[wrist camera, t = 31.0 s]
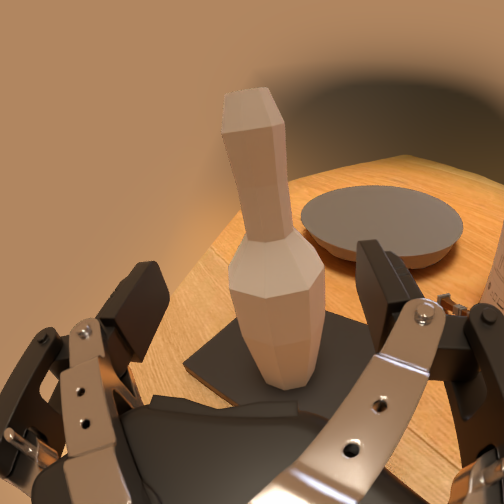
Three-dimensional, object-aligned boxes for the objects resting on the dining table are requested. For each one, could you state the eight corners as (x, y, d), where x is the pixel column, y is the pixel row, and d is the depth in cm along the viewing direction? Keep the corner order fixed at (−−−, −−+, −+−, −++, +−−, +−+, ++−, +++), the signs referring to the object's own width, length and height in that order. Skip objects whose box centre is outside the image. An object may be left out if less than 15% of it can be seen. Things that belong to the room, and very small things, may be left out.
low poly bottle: (262, 342, 27) (212, 101, 16) (325, 344, 25) (309, 86, 14) (246, 394, 21) (161, 106, 11) (320, 400, 20) (302, 77, 9)
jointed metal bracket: (467, 357, 19) (474, 314, 18) (434, 329, 27) (437, 293, 26) (479, 352, 18) (486, 310, 18) (446, 326, 26) (449, 291, 26)
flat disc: (269, 240, 48) (266, 216, 46) (364, 196, 60) (364, 178, 57) (413, 316, 27) (420, 285, 24) (474, 232, 38) (478, 210, 36)
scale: (186, 371, 26) (176, 353, 25) (271, 296, 35) (267, 277, 34) (319, 456, 16) (320, 445, 15) (390, 338, 25) (395, 318, 24)
